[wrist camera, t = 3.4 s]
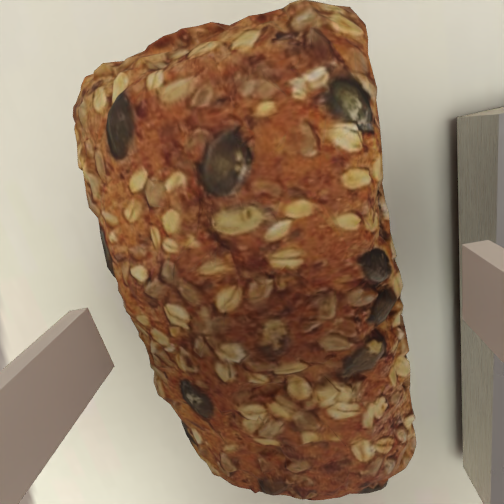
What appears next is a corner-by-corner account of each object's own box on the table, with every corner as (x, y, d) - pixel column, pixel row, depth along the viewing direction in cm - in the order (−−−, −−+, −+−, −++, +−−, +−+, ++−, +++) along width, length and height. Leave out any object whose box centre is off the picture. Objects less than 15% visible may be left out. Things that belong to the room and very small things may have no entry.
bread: (372, 355, 22) (440, 521, 13) (221, 375, 24) (182, 535, 14) (332, 44, 16) (407, -79, 7) (133, 99, 18) (-34, 63, 8)
